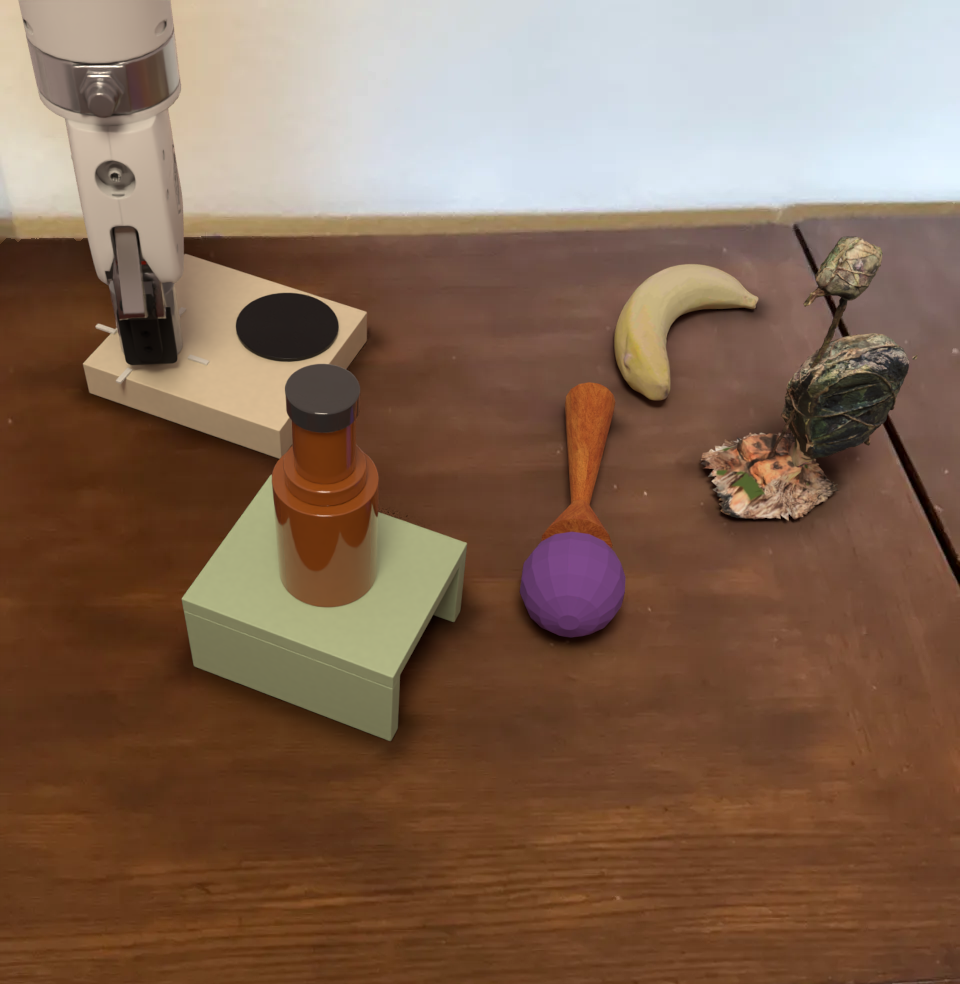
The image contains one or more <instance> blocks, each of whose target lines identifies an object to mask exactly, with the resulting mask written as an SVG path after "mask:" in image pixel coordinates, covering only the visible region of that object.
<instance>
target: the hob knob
mask: <svg viewBox="0 0 960 984" xmlns="http://www.w3.org/2000/svg"><path fill="white" fill-rule="evenodd" d="M141 263H142V264H147V262H146V261H141ZM162 284H163V291H164V299H165V307H170V308H171V314H172V321H173V327H174V334H175V341H176V347H177V355H178V354H179V353H180V351H181V349H182V347H183V336H182V329H181V322H180V315H179V308H178V301H177V294H176V287H175V283H172V282H165V283H162ZM108 289H109V297H110V300H111V306H112V312H113V315H114V321H115V326H116V327H117V332H118V337H119V342H120V347H121V351H122V352H123V354H124V350H123V345H122V340H121V335H120V330H119V324H118V319H117V314H116V313H117V303H116V297H115V290H114V284H113V281H110V284H109V285H108ZM144 290H145V294H152V296H153V297H154V295H153V288H152V282H144ZM116 327H115V328H116ZM148 365H153V364H148Z"/></svg>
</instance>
